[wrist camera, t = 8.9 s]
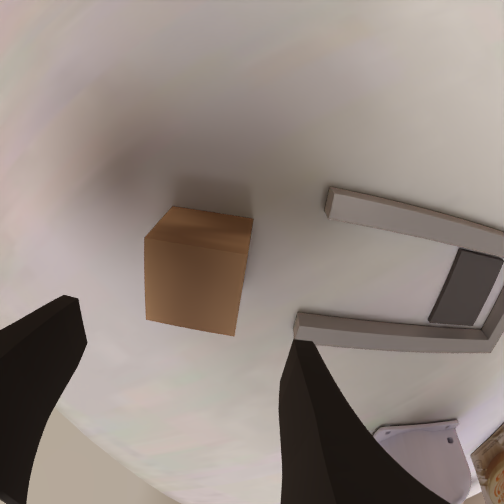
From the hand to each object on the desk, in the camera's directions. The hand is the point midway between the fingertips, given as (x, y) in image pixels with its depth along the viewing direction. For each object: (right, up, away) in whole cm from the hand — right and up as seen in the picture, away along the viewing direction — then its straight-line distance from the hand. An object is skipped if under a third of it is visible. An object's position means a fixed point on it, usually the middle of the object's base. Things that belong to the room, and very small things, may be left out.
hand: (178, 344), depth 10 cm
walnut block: (0, +3, +6) cm, 7 cm away
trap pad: (+16, +1, +7) cm, 17 cm away
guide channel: (+12, +1, +7) cm, 14 cm away
